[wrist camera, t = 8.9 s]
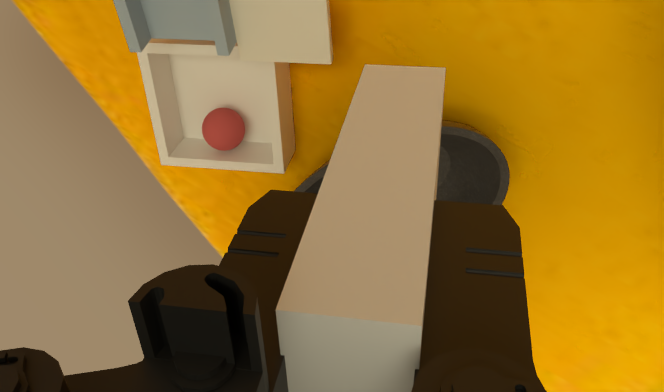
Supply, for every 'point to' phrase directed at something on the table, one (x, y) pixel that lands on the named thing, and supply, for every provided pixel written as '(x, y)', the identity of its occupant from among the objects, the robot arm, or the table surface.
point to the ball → (223, 129)
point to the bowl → (457, 168)
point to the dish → (217, 105)
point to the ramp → (235, 26)
